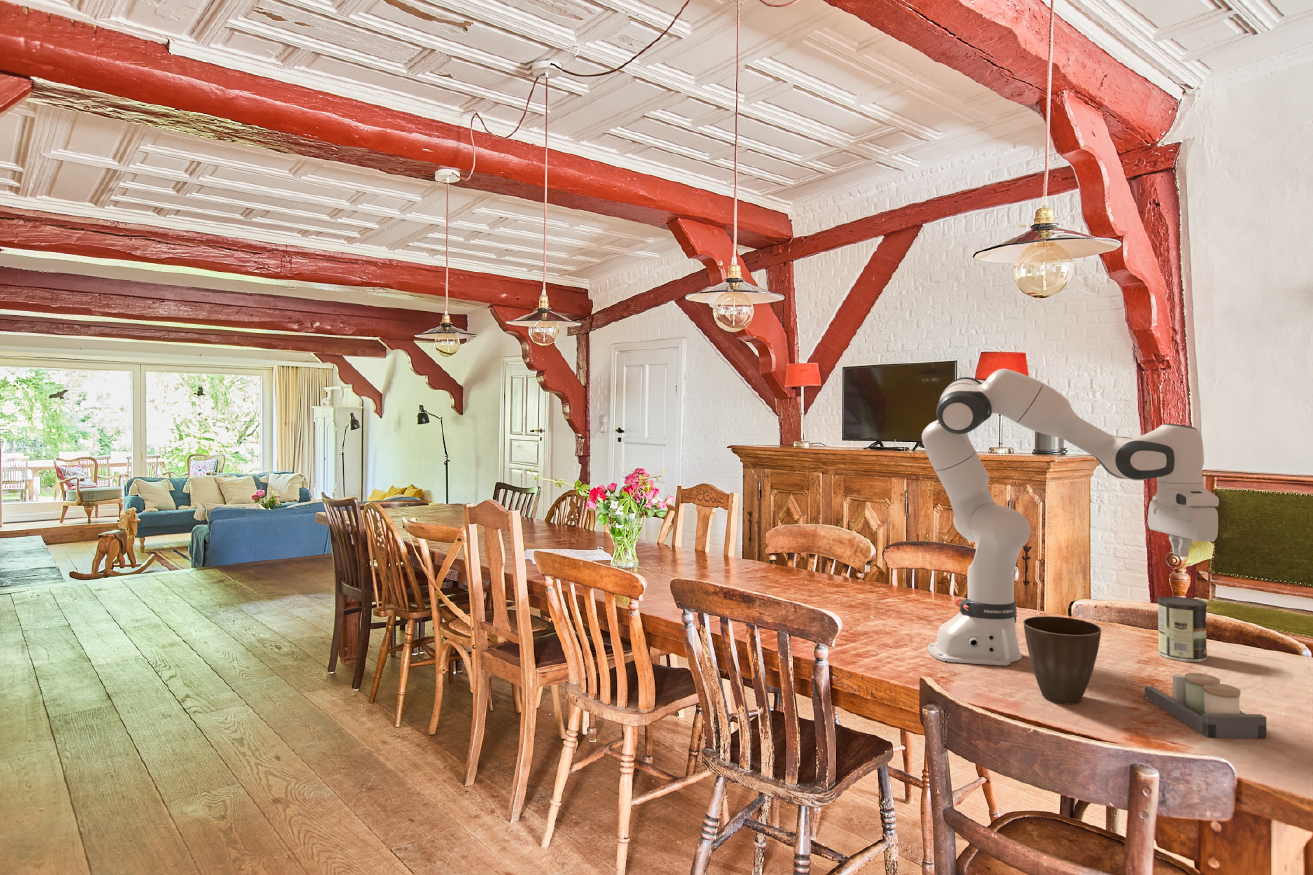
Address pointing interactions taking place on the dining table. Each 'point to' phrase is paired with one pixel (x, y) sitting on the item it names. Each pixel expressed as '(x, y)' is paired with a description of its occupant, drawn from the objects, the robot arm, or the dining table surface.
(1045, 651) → the plant pot
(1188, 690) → the sage jar
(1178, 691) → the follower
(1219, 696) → the cream jar
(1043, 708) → the dining table surface
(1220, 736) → the tray
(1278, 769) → the dining table surface
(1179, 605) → the coffee can
